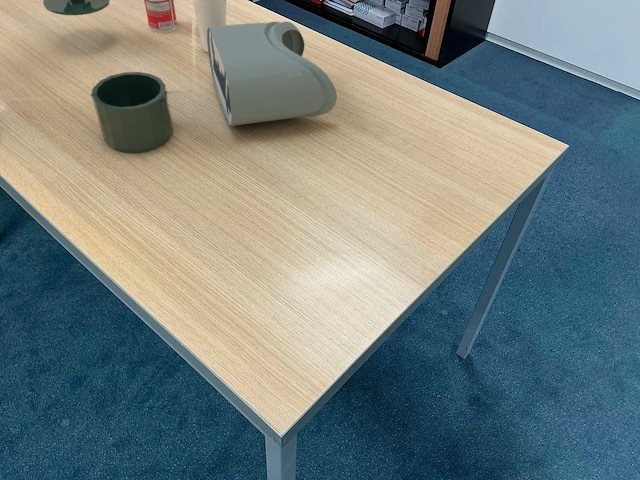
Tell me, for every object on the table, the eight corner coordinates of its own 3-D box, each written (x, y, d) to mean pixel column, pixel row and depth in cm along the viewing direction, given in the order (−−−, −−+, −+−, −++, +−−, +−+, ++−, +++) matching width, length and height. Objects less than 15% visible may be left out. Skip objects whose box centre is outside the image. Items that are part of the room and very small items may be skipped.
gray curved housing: (210, 78, 109) (204, 15, 100) (301, 68, 114) (303, 7, 105) (233, 142, 95) (228, 75, 86) (336, 127, 100) (341, 62, 90)
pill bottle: (161, 21, 126) (153, -30, 118) (183, 27, 124) (176, -23, 116) (143, 31, 122) (134, -20, 114) (166, 38, 120) (157, -14, 112)
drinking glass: (213, 38, 121) (206, -33, 110) (236, 48, 119) (232, -24, 108) (191, 49, 117) (182, -23, 106) (215, 59, 115) (208, -14, 104)
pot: (100, 155, 91) (87, 111, 85) (107, 116, 99) (96, 73, 92) (171, 151, 92) (164, 107, 86) (173, 112, 100) (166, 70, 94)
